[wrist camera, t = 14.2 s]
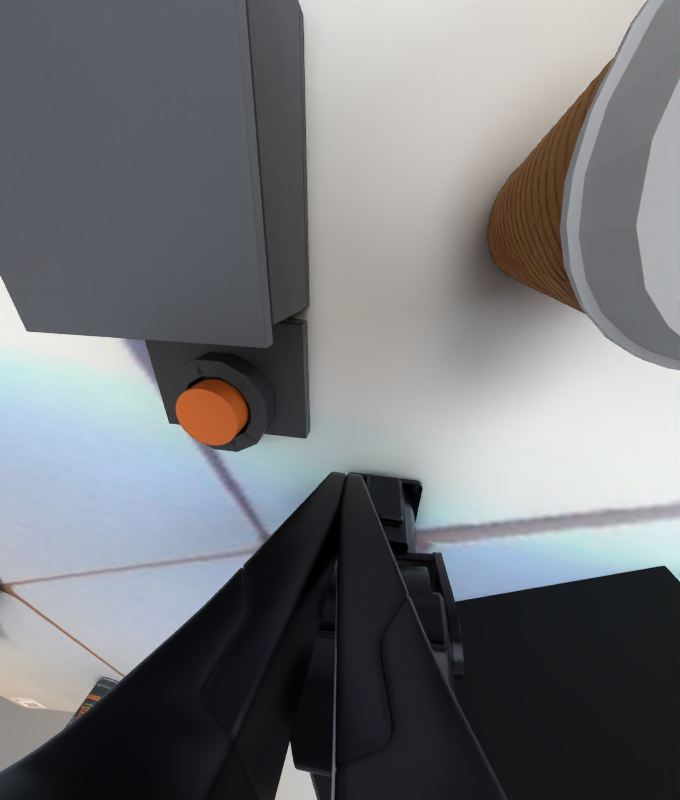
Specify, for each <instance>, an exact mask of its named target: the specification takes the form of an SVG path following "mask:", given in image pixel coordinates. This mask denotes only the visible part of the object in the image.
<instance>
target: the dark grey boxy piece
mask: <svg viewBox="0 0 680 800" xmlns="http://www.w3.org/2000/svg"><path fill="white" fill-rule="evenodd" d="M245 2H246V15H247V27H248V40H249V52H250V64H251V77H252V89H253V102H254V114H255V126H256V139H257V151H258V164H259V176H260V188H261V201H262V213H263V226H264V238H265V251H266V263H267V275H268V288H269V300H270V313H271V325H274V324H276V323H278V322H280V321H282V320H284V319H286V318H288V317H289V316H291V315H293V314H295V313H297V312H299V311H301V310H303V309H305V308H306V307H308V306H309V262H308V217H307V171H306V126H305V81H304V35H303V13H302V10H301V7H300V4H299V2H298V0H245Z"/></svg>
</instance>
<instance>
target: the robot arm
mask: <svg viewBox="0 0 680 800" xmlns="http://www.w3.org/2000/svg"><path fill="white" fill-rule="evenodd" d="M415 486H418V487H415ZM421 493H422V484H421V482H419V481H415V480H407V479H399V478H391V477H383V476H374V475H366V474H358V473H348V474H347V476H346V474H345V473H339V472H332V473H330V474H329V475H328V476H327V477H326V479H325V480H324V481H323V482H322V483H321V484H320V485H319V486H318V487H317V488H316V489H315V490H314V491H313V492H312V493H311V494H310V495H309V496H308V498H307V499H306V500H305V501H304V502H303V503H302V504H301V505H300V506H299V507H298V508H297V509H296V510H295V511H294V512H293V513H292V514H291V516H290V517H289V518H288V519H287V520H286V521H285V522H284V523H283V524H282V525H281V526H280V527H279V528H278V529H277V530H276V531H275V532H274V533H273V535H272V536H271V537H270V538H269V539H268V540H267V541H266V542H265V543H264V544H263V545H262V546H261V547H260V548H259V549H258V550H257V551H256V552H255V554H254V555H253V556H252V557H251V558H250V559H249V560H248V561H247V562H246V563H245V564H244V566H243V568H244V569H243V568H240V569H239V570H238V571H237V572H236V573H235V574H234V576H233V577H232V578H231V579H230V580H229V581H228V582H227V583H226V584H225V585H224V586H223V587H222V588H221V589H220V590H219V591H218V592H217V593H216V594H215V595H214V596H213V597H212V598H211V599H210V600H209V601H208V602H207V603H206V604H205V605H204V606H203V607H202V608H201V609H200V610H199V611H198V612H197V613H195V614H194V615H193V616H192V617H191V618H190V619H189V620H188V621H187V622H186V623H185V624H183V625H182V626H181V627H180V628H179V629H178V630H177V631H176V632H175V633H174V634H173V635H171V636H170V637H169V638H168V639H167V640H166V641H165V642H164V643H162V644H161V645H160V646H159V647H158V648H157V649H156V650H155V651H153V652H152V653H151V654H150V655H149V656H148V657H147V658H146V659H144V660H143V661H142V662H141V663H140V664H139V665H138V666H137V667H135V668H134V669H133V670H132V671H131V672H130V673H129V674H128V675H126V676H125V677H124V678H123V679H122V680H121V681H120V682H119V683H117V684H116V685H115V686H114V687H113V688H112V689H111V690H110V691H108V692H107V693H106V694H105V695H104V696H103V697H102V698H101V699H99V700H98V701H97V702H96V703H95V704H94V705H93V706H91V707H90V708H89V709H88V710H87V711H86V712H85V713H83V714H82V715H81V716H80V717H79V718H77V719H76V720H75V721H74V722H72V723H71V724H70V725H69V726H67V727H66V728H65V729H64V730H62V731H61V732H60V733H58V734H57V735H56V736H54V737H53V738H51V739H50V740H49V741H47V742H46V743H44V744H43V745H42V746H40V747H39V748H37V749H36V750H34V751H33V752H31V753H30V754H28V755H27V756H25V757H24V758H22V759H21V760H19V761H18V762H16V763H14V764H13V765H11V766H9V767H8V768H6V769H4V770H2V771H1V772H0V800H275V796H276V792H277V788H278V784H279V780H280V777H281V773H282V769H283V765H284V761H285V757H286V754H287V750H288V745H289V742H290V743H291V749H292V756H293V762H294V766H295V768H296V769H298V770H302V771H307V772H310V775H311V779H312V782H313V786H314V789H315V793H316V796H317V800H508V799H507V797H506V795H505V793H504V791H503V789H502V787H501V785H500V783H499V781H498V779H497V777H496V776H495V774H494V772H493V770H492V768H491V766H490V764H489V762H488V760H487V758H486V756H485V754H484V752H483V750H482V748H481V746H480V744H479V742H478V740H477V738H476V736H475V734H474V733H473V731H472V729H471V727H470V725H469V723H468V721H467V719H466V717H465V715H464V713H463V711H462V709H461V707H460V705H459V703H458V701H457V699H456V697H455V695H454V685H453V679H458V680H463V679H464V653H463V644H462V636H461V629H460V623H459V617H458V613H457V608H456V604H455V600H454V597H453V593H452V590H451V586H450V582H449V579H448V575H447V572H446V568H445V565H444V561H443V558H442V554H441V553H436V552H433V554H429V553H418V547H417V538H416V529H415V521H416V516H417V512H418V507H419V502H420V498H421Z"/></svg>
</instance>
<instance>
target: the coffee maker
mask: <svg viewBox="0 0 680 800" xmlns="http://www.w3.org/2000/svg"><path fill="white" fill-rule="evenodd" d="M455 604H456V608H457V613H458V617H459V623H460V629H461V636H462V644H463V653H464V679H463V680H458V679H453V685H454V695H455V697H456V699H457V701H458V703H459V705H460V707H461V709H462V711H463V713H464V715H465V717H466V719H467V721H468V723H469V725H470V727H471V729H472V731H473V733H474V734H475V736H476V738H477V740H478V742H479V744H480V746H481V748H482V750H483V752H484V754H485V756H486V758H487V760H488V762H489V764H490V766H491V768H492V770H493V772H494V774H495V776H496V777H497V779H498V781H499V783H500V785H501V787H502V789H503V791H504V793H505V795H506V797H507V799H508V800H680V582H679V580H678V579H677V578H676V577H675V576H674V575H673V574H672V573H671V572H670V571H669V570H668V569H667V568H666V567H665V566H662V567H657V568H651V569H645V570H639V571H633V572H628V573H622V574H616V575H610V576H605V577H599V578H593V579H587V580H581V581H576V582H570V583H564V584H558V585H553V586H547V587H541V588H535V589H529V590H524V591H518V592H512V593H506V594H500V595H495V596H489V597H483V598H477V599H472V600H466V601H460V602H455Z"/></svg>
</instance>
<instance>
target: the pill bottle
mask: <svg viewBox="0 0 680 800" xmlns="http://www.w3.org/2000/svg"><path fill="white" fill-rule="evenodd" d="M117 683H118V682H116V681H114V680H111V679H107V678H101V679H100V680H99V681H98V682H97V683H96V685H95V686H94V688H93V689H92V691H91V692H90V693H89V695H88V696H87V698H86V699H85V700H84V702H83V703H82V705H81V706H80V708H79V709H78V710H77V712H76V714H75V715H74V716H73V718H72V719H71V720H70V722H69V723H68V725H67V726H69V725H70V724H71V723H72V722H74V721H75V720H76V719H77V718H79V717H80V716H81V715H82V714H83V713H85V712H86V711H87V710H88V709H89V708H90V707H91V706H93V705H94V704H95V703H96V702H97V701H98V700H99V699H101V698H102V697H103V696H104V695H105V694H106V693H107V692H108V691H110V690H111V689H112V688H113V687H114V686H115V685H116V684H117ZM67 726H66V727H67Z"/></svg>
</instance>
